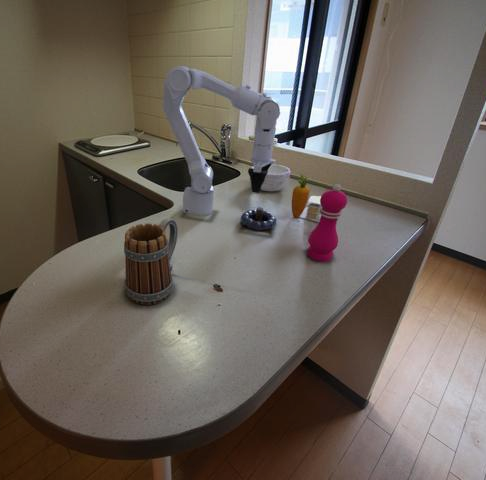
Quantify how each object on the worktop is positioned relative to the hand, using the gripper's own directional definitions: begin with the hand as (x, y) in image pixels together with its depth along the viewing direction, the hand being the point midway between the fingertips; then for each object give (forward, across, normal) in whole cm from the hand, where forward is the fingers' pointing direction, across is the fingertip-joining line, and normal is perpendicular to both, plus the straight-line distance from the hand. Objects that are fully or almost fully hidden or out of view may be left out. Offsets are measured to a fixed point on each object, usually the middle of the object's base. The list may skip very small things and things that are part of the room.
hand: (257, 188), depth 98 cm
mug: (+11, -43, +15) cm, 47 cm away
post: (+10, -7, -2) cm, 12 cm away
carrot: (+10, +4, -13) cm, 17 cm away
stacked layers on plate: (+10, +10, -19) cm, 24 cm away
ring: (+8, -6, -2) cm, 10 cm away
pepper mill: (+10, -16, -20) cm, 28 cm away
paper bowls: (+10, +29, -1) cm, 31 cm away
